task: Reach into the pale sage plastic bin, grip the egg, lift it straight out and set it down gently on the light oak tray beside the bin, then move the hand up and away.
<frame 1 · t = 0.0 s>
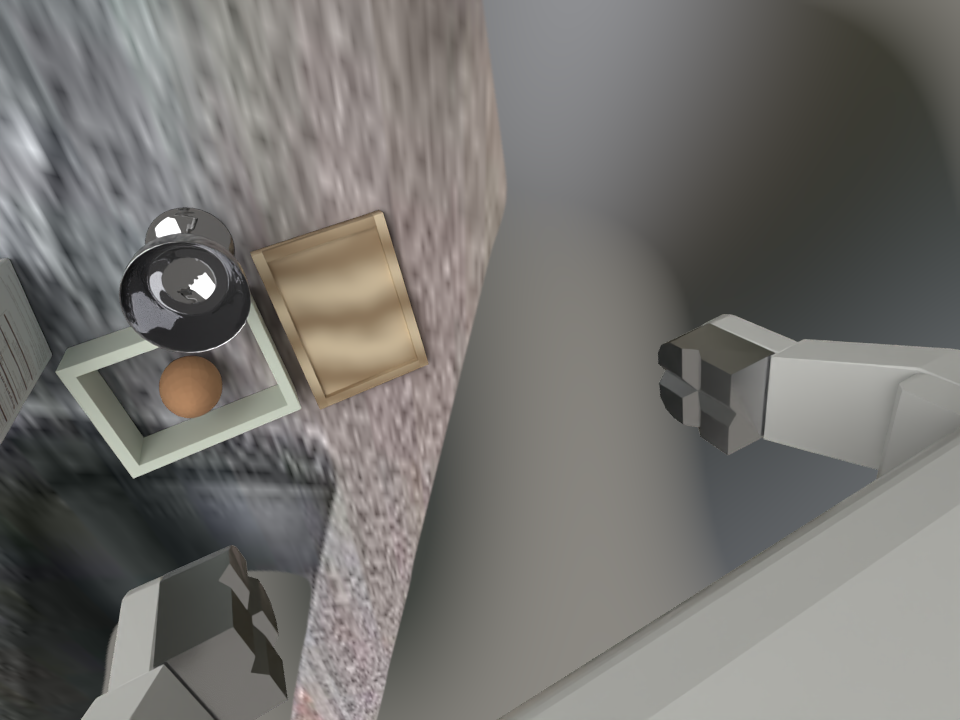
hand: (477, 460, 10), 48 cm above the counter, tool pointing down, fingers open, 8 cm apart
tray: (346, 311, 58), on the counter
bin: (192, 369, 54), on the counter
wine glass: (191, 247, 50), on the counter
egg: (192, 368, 54), resting in bin
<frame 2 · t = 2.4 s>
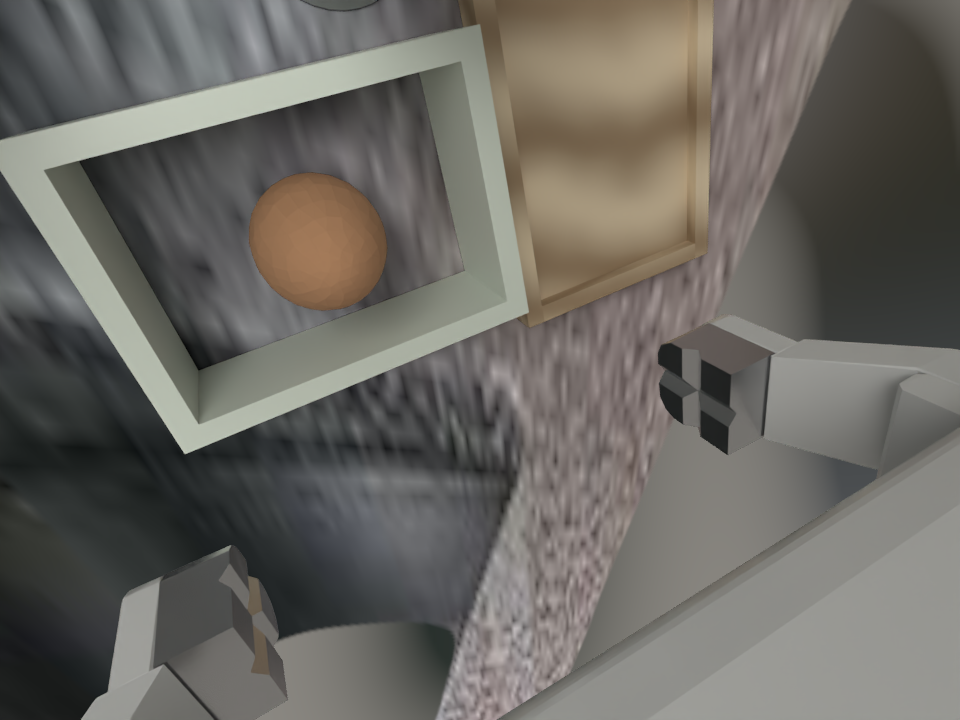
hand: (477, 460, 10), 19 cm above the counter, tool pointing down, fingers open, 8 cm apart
tray: (595, 128, 29), on the counter
bin: (304, 222, 25), on the counter
egg: (303, 221, 25), resting in bin
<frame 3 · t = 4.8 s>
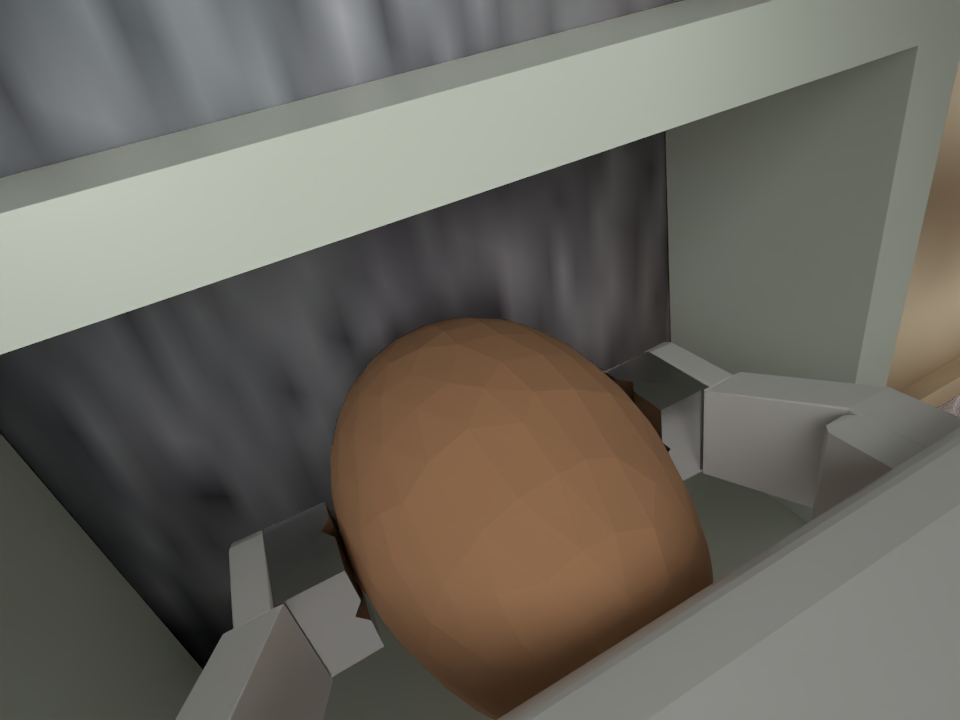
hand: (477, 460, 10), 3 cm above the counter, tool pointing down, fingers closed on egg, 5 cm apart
tray: (906, 176, 16), on the counter
bin: (420, 384, 12), on the counter
egg: (417, 380, 12), resting in bin, touching gripper
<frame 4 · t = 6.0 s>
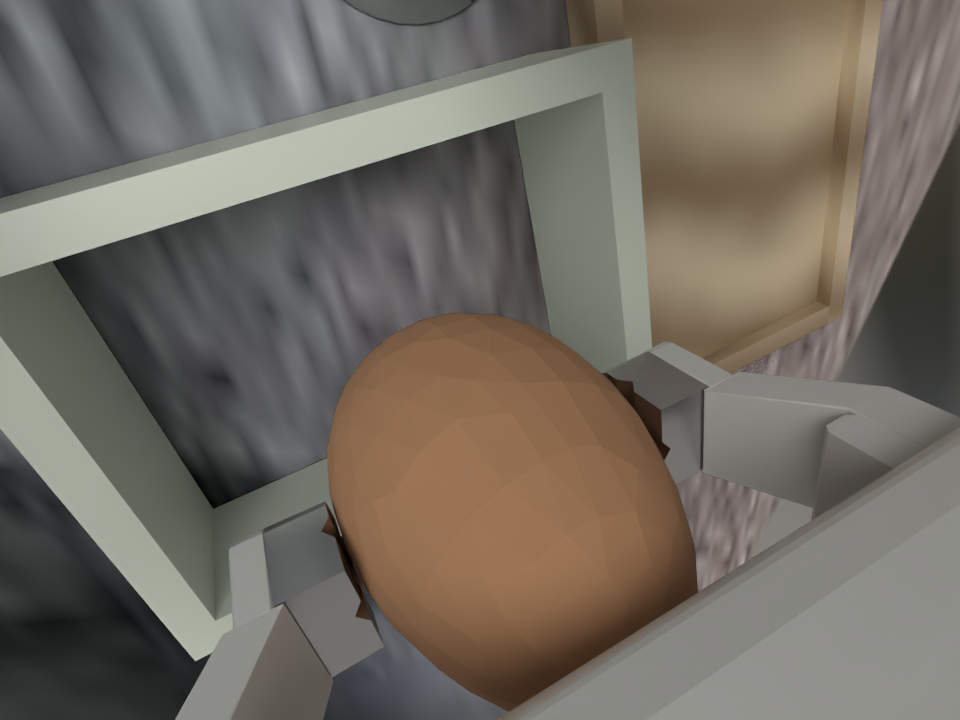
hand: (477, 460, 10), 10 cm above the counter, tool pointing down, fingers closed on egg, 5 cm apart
tray: (721, 170, 23), on the counter
bin: (356, 309, 18), on the counter
egg: (413, 375, 13), point 7 cm above the counter, touching gripper
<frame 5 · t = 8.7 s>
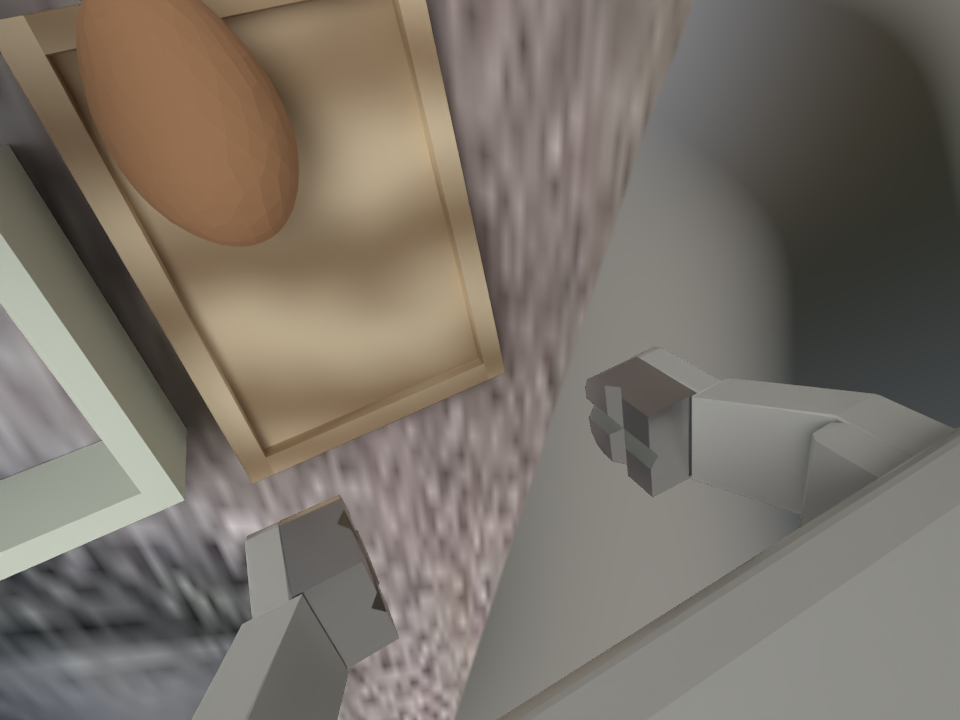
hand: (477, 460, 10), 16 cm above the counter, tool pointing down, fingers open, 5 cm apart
tray: (315, 240, 23), on the counter
egg: (265, 245, 19), point 3 cm above the counter, touching tray
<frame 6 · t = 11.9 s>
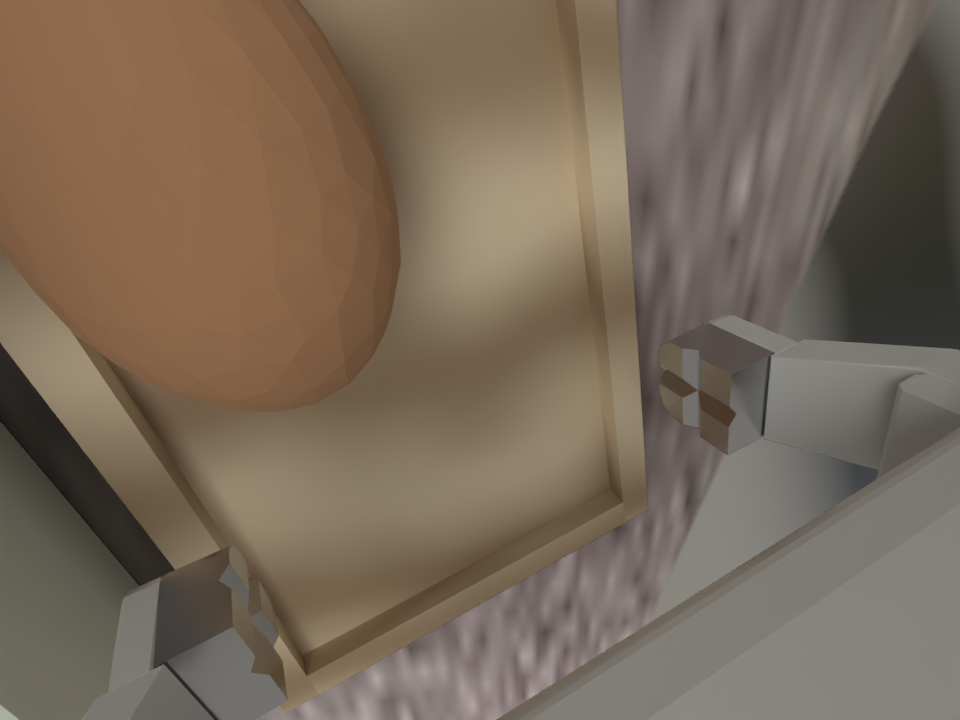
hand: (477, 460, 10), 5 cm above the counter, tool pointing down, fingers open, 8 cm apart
tray: (391, 345, 14), on the counter
egg: (328, 394, 10), point 3 cm above the counter, touching tray
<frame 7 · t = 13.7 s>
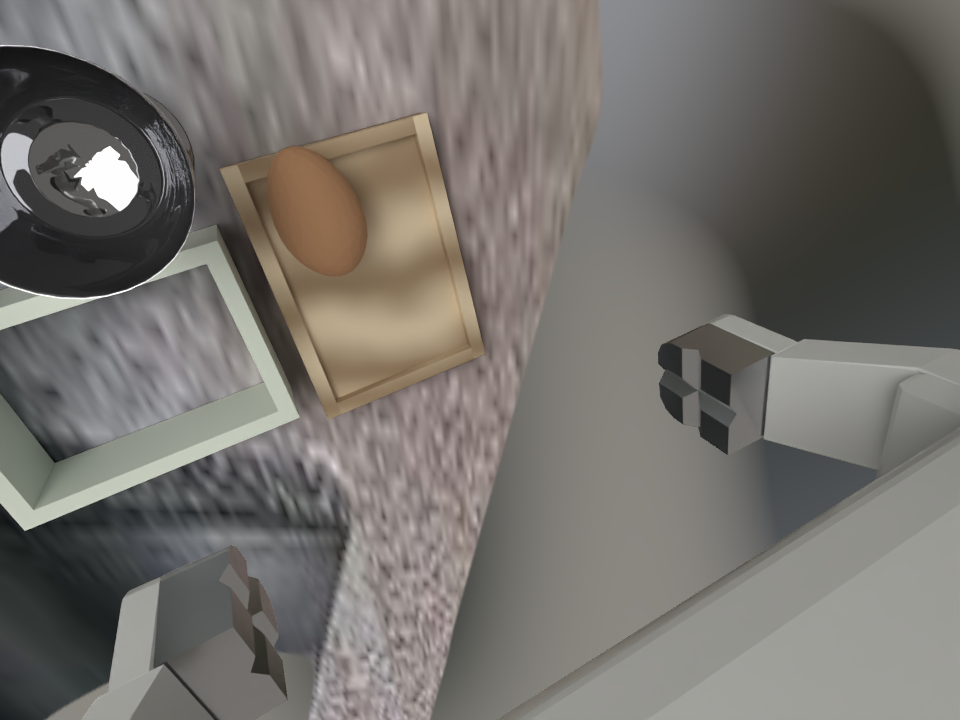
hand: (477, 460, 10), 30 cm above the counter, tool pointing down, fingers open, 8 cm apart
tray: (369, 271, 39), on the counter
bin: (129, 355, 34), on the counter
wine glass: (122, 153, 31), on the counter
egg: (347, 275, 35), point 3 cm above the counter, touching tray
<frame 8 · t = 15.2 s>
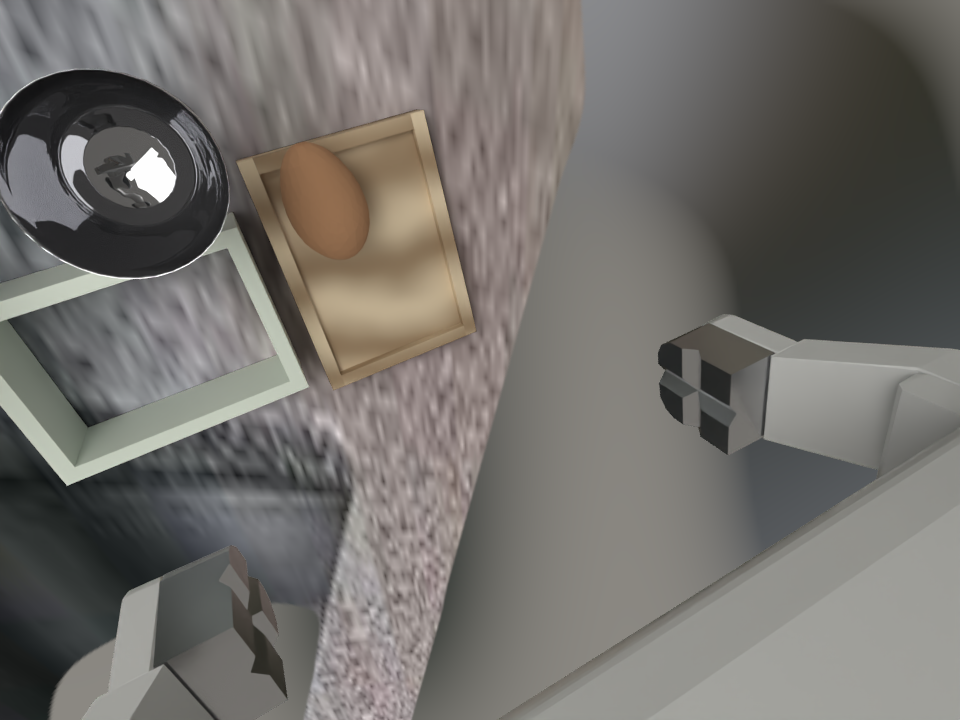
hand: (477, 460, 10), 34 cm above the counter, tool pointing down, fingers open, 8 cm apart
tray: (370, 255, 42), on the counter
bin: (154, 331, 38), on the counter
wine glass: (148, 148, 34), on the counter
egg: (351, 259, 38), point 3 cm above the counter, touching tray
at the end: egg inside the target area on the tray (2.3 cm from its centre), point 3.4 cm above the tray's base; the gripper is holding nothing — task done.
